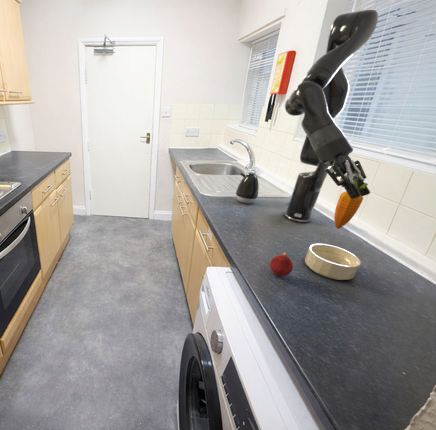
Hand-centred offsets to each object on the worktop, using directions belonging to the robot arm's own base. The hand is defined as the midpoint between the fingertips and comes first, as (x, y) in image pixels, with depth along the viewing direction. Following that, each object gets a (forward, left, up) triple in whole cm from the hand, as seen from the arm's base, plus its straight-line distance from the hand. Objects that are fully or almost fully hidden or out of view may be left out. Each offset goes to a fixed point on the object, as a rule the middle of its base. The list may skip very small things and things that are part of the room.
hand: (361, 196), depth 73 cm
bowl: (-1, +1, -25) cm, 25 cm away
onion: (+7, -16, -26) cm, 31 cm away
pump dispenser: (-56, -13, -26) cm, 63 cm away
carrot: (-1, -1, -11) cm, 11 cm away
